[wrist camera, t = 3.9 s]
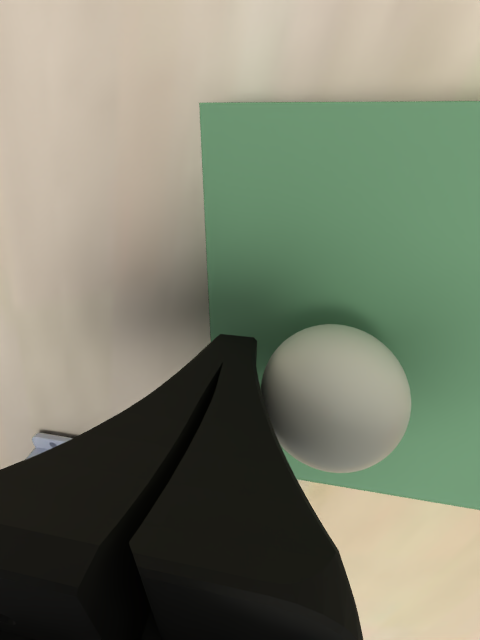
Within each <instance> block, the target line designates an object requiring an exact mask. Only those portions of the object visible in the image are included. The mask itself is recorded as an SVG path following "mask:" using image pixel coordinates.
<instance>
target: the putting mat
mask: <svg viewBox="0 0 480 640" xmlns="http://www.w3.org/2000/svg"><path fill="white" fill-rule="evenodd" d="M199 105H200V126H201V147H202V168H203V189H204V210H205V231H206V252H207V273H208V294H209V315H210V336H211V342H212V341H213V340H214V339H215V338H216V337H217V336H218V335H220V334H226V335H236V336H246V337H254V338H255V339H256V340H257V360H256V367H257V373H258V378H259V384H260V388H261V382H262V377H263V373H264V370H265V367H266V365H267V363H268V361H269V359H270V357H271V356H272V354H273V353H274V352H275V350H276V349H277V348H278V347H279V346H280V345H281V344H282V343H283V342H284V341H285V340H286V339H288V338H289V337H290V336H292V335H294V334H295V333H297V332H299V331H301V330H303V329H306V328H309V327H312V326H317V325H323V324H339V325H346V326H350V327H354V328H357V329H359V330H362V331H364V332H366V333H368V334H370V335H372V336H373V337H375V338H376V339H378V340H379V341H380V342H382V343H383V344H384V345H385V346H386V347H387V348H388V349H389V350H390V351H391V352H392V353H393V354H394V356H395V357H396V358H397V360H398V361H399V363H400V365H401V366H402V368H403V370H404V372H405V374H406V377H407V380H408V384H409V387H410V394H411V413H410V419H409V423H408V426H407V429H406V432H405V434H404V436H403V438H402V439H401V441H400V443H399V444H398V445H397V447H396V448H395V449H394V450H393V451H392V452H391V453H390V454H389V455H388V456H387V457H386V458H384V459H383V460H382V461H380V462H378V463H377V464H375V465H373V466H371V467H369V468H366V469H363V470H360V471H356V472H349V473H333V472H326V471H321V470H318V469H315V468H312V467H310V466H308V465H306V464H304V463H302V462H300V461H298V460H297V459H295V458H294V457H293V456H291V455H290V454H289V453H288V452H287V451H286V450H284V449H283V448H282V446H281V445H280V446H281V448H282V450H283V452H284V455H285V457H286V459H287V461H288V463H289V465H290V467H291V469H292V471H293V473H294V475H295V477H296V479H299V480H305V481H311V482H317V483H322V484H328V485H334V486H340V487H346V488H352V489H358V490H364V491H370V492H376V493H382V494H388V495H394V496H400V497H406V498H412V499H418V500H424V501H430V502H435V503H441V504H447V505H453V506H459V507H465V508H471V509H477V510H480V101H426V102H246V103H199Z"/></svg>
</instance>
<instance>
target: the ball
mask: <svg viewBox="0 0 480 640" xmlns="http://www.w3.org/2000/svg"><path fill="white" fill-rule="evenodd" d="M261 392H262V395H263V399H264V402H265V406H266V409H267V412H268V415H269V418H270V421H271V423H272V426H273V429H274V431H275V434H276V436H277V439H278V441H279V443H280V445H281V446H282V448H283V449H284V450H286V451H287V452H288V453H289V454H290V455H291V456H293V457H294V458H295V459H297V460H298V461H300V462H302V463H304V464H306V465H308V466H310V467H312V468H315V469H318V470H321V471H326V472H333V473H349V472H356V471H360V470H363V469H366V468H369V467H371V466H373V465H375V464H377V463H378V462H380V461H382V460H383V459H384V458H386V457H387V456H388V455H389V454H390V453H391V452H392V451H393V450H394V449H395V448H396V447H397V445H398V444H399V443H400V441H401V439H402V438H403V436H404V434H405V432H406V429H407V426H408V423H409V419H410V413H411V394H410V387H409V384H408V380H407V377H406V374H405V372H404V370H403V368H402V366H401V365H400V363H399V361H398V360H397V358H396V357H395V356H394V354H393V353H392V352H391V351H390V350H389V349H388V348H387V347H386V346H385V345H384V344H383V343H382V342H380V341H379V340H378V339H376V338H375V337H373V336H372V335H370V334H368V333H366V332H364V331H362V330H359V329H357V328H354V327H350V326H346V325H339V324H323V325H317V326H312V327H309V328H306V329H303V330H301V331H299V332H297V333H295V334H294V335H292V336H290V337H289V338H288V339H286V340H285V341H284V342H283V343H282V344H281V345H280V346H279V347H278V348H277V349H276V350H275V352H274V353H273V354H272V356H271V357H270V359H269V361H268V363H267V365H266V367H265V370H264V373H263V377H262V382H261Z"/></svg>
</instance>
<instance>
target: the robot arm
mask: <svg viewBox="0 0 480 640" xmlns="http://www.w3.org/2000/svg"><path fill="white" fill-rule="evenodd" d="M256 360H257V340H256V339H255V338H254V337H246V336H236V335H226V334H220V335H218V336H217V337H216V338H215V339H214V340H213V341H212V342H211V343H210V344H209V345H208V346H207V347H206V348H204V349H203V350H202V351H201V352H200V353H199V354H198V355H197V356H196V357H195V358H194V359H193V360H191V361H190V362H189V363H188V364H187V365H186V366H185V367H183V368H182V369H181V370H180V371H179V372H178V373H176V374H175V375H174V376H173V377H171V378H170V379H169V380H168V381H166V382H165V383H164V384H162V385H161V386H160V387H159V388H157V389H156V390H155V391H153V392H152V393H150V394H149V395H148V396H146V397H145V398H143V399H142V400H140V401H139V402H137V403H136V404H134V405H132V406H131V407H129V408H128V409H126V410H124V411H123V412H121V413H119V414H118V415H116V416H114V417H112V418H110V419H109V420H107V421H105V422H103V423H101V424H100V425H98V426H96V427H94V428H92V429H91V430H89V431H87V432H85V433H83V434H81V435H79V436H77V437H75V438H69V437H63V436H57V435H51V434H45V433H37V434H36V435H35V436H34V437H33V438H32V441H33V443H34V446H35V449H34V450H33V451H32V452H31V454H30V455H29V456H28V457H27V458H26V459H25V460H24V461H21V462H19V463H16V464H14V465H11V466H9V467H6V468H4V469H1V470H0V640H363V636H362V631H361V626H360V621H359V616H358V612H357V608H356V604H355V600H354V597H353V594H352V590H351V587H350V584H349V581H348V578H347V575H346V572H345V569H344V566H343V563H342V560H341V557H340V554H339V551H338V549H337V547H336V546H335V544H334V543H333V541H332V539H331V538H330V536H329V535H328V533H327V531H326V530H325V528H324V527H323V525H322V523H321V522H320V520H319V518H318V517H317V515H316V513H315V512H314V510H313V508H312V507H311V505H310V503H309V501H308V499H307V498H306V496H305V494H304V492H303V490H302V488H301V487H300V485H299V483H298V481H297V479H296V477H295V475H294V473H293V471H292V469H291V467H290V465H289V463H288V461H287V459H286V457H285V455H284V452H283V450H282V448H281V446H280V443H279V441H278V439H277V436H276V434H275V431H274V429H273V426H272V423H271V421H270V418H269V415H268V412H267V409H266V406H265V402H264V399H263V395H262V392H261V388H260V384H259V378H258V373H257V367H256Z"/></svg>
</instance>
